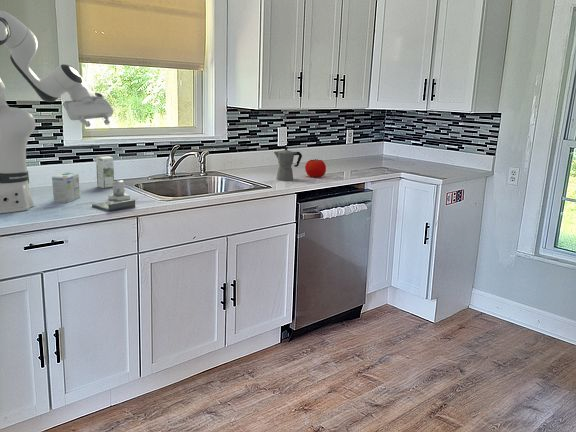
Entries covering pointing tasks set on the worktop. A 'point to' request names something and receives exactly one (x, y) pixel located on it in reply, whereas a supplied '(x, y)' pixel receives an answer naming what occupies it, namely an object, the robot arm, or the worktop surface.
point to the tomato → (315, 168)
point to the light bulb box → (66, 187)
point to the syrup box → (105, 171)
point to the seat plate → (115, 205)
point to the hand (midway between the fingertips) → (98, 124)
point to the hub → (118, 191)
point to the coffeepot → (286, 164)
